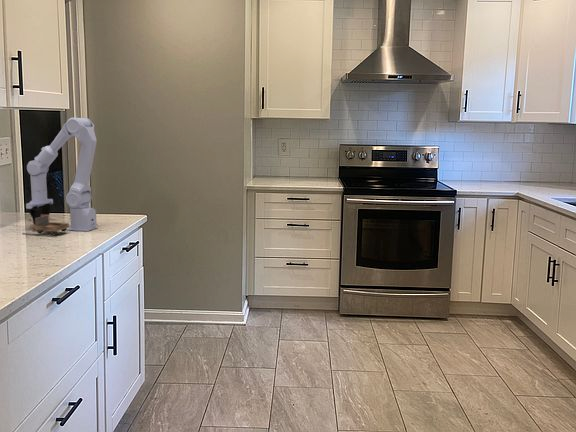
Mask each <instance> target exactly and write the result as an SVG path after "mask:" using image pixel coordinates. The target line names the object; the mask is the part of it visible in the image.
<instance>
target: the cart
mask: <svg viewBox="0 0 576 432" xmlns="http://www.w3.org/2000/svg"><path fill="white" fill-rule="evenodd" d="M67 228H70V227H69V223H68V222H67V223H65V222H50V221H49V222H48V215H46V216H42V217H38V218H35V228H34V230H37V232H36V233H37V234H44V232H43V231H51V235H54V236H55V235H56V234H58V233H57V231H59V232H63V233H64V232H65V231H67V230H66V229H67Z"/></svg>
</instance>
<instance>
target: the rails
mask: <svg viewBox="0 0 576 432" xmlns="http://www.w3.org/2000/svg"><path fill="white" fill-rule="evenodd" d="M31 232H35V233H31ZM31 232H30V233H29V232H22V233H21V234H22V235H23V236H26V235H27V236H28V235H29V236H39V237H40V236H42V237H54V236H55V234H54V235H53V234H52V233H51V231H43V233H40V234H39V233H38V232H37V230H35V229H33V230H31ZM47 233H48V234H47ZM49 233H51V234H49ZM63 233H64V232H63V231H60V230H59V231H57V234H63Z"/></svg>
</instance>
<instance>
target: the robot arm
mask: <svg viewBox="0 0 576 432" xmlns="http://www.w3.org/2000/svg"><path fill="white" fill-rule="evenodd" d="M72 137H75V139H77V140H78V141H79V143H80V150H79V154H78V161H77V164H76V165H77V166H76V170H75V171H76V172H75V177H74V182H73V184H72V185H71V186H70V188H69V191H68V192H67V194H66V197H65V202H66V204H67V205H68V207H69V217H70V227H69V228H66V231H79V232H81V231H82V232H88V231H91V230H94V229H98V227H99V226H97V211H96V209H95V208H93V207H90V203H91V202H92V198H93V197H92V193H91V192H92V187H91V186H90V185H89V183H90V179H91V174H92V168H93V164H94V163H93V162H94V158H95V153H96V148H97V143H98V142H97V141H98V140H97V137H96V133H95V124H94V123H93V122H92V121H91V120H90V118H88V117H70V118H68V119H67V120H66V122H65V123H63V126H62V128H61V129H60V131H59V132H58V134H57V135H56V136H55V137H54V140H52V141H51V143H50V144H49V145H46V146H42V148H40V150H41V151H40V152H39V154H38V155H36V156H34V158H33V159H34V160H30V161H28V163H27V164H26V170H27V172H28V174H29V175H30V191H31V194H32V195H31V200H29V202H27V203H25V209H27V212H28V213H29V214H30V217H31V216H32V219H33V221H32V223H33V222H34V225H35V218H38V217H41V214H48V215H49V214H51V212H52V210H53V204H54V199H53V198H48V188H47V173H48V172H49V170H50V169H49V168H50V165H52V163H53V162H54V161H55V160H56V158H57V157H58V155H59V152H58V151H59V150H60V149H61V148H62V147H63V145H65V143H66V142H67V141H68V140H69V139H70V138H72Z"/></svg>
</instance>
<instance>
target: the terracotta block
mask: <svg viewBox="0 0 576 432" xmlns="http://www.w3.org/2000/svg"><path fill="white" fill-rule="evenodd" d="M46 215H48V214H41V217H42V216H46ZM48 222H50V219H49V215H48ZM32 229H35V225H34V222H33V221H32Z"/></svg>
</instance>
